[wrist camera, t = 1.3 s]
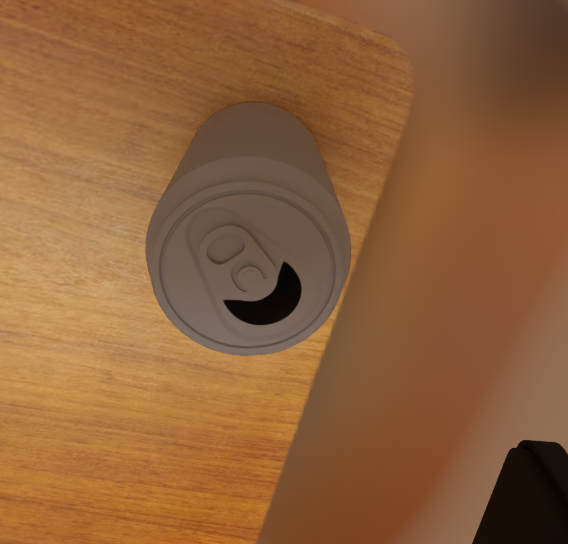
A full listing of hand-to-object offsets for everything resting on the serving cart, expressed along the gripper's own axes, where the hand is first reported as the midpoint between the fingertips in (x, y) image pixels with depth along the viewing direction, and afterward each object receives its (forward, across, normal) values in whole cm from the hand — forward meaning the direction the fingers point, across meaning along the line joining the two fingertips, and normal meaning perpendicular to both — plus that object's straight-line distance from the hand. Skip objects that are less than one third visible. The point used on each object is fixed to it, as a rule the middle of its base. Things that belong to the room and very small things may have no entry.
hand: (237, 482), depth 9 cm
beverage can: (+19, 0, -1) cm, 19 cm away
